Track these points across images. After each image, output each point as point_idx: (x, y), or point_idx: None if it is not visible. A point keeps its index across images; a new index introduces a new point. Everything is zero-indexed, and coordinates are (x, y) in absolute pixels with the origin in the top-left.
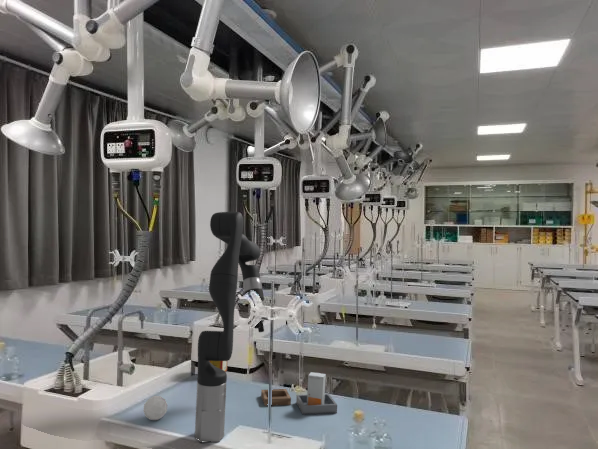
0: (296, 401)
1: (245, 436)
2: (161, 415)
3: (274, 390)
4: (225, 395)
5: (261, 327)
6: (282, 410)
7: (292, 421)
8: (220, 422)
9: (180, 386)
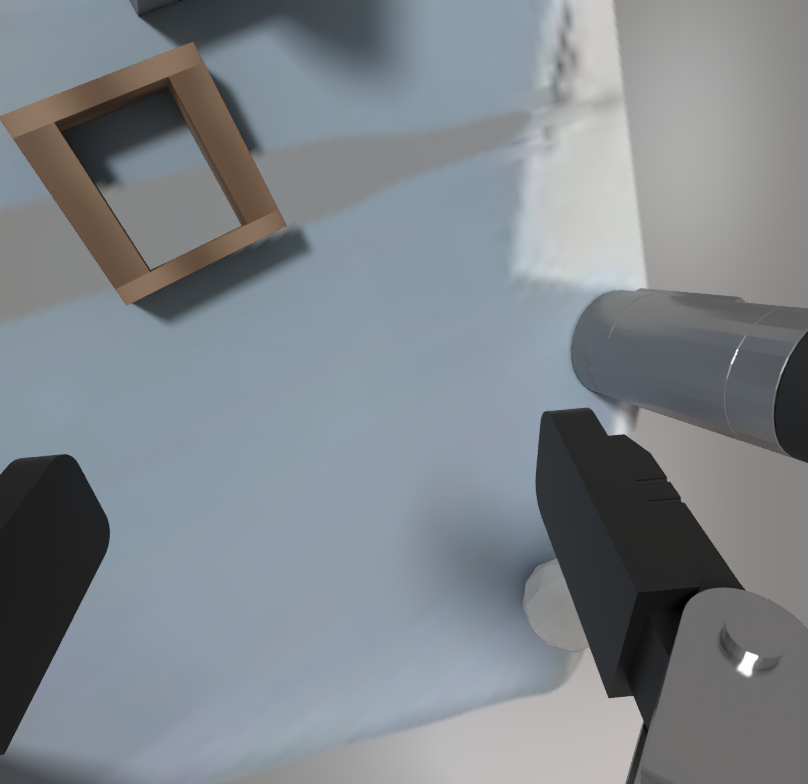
0: (144, 9)
1: (593, 212)
2: None
3: (91, 205)
4: (761, 306)
5: (36, 555)
6: (301, 100)
7: (420, 14)
8: (700, 294)
9: (204, 757)
